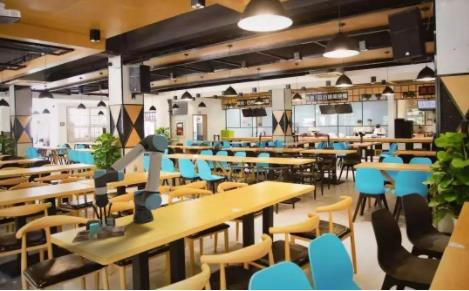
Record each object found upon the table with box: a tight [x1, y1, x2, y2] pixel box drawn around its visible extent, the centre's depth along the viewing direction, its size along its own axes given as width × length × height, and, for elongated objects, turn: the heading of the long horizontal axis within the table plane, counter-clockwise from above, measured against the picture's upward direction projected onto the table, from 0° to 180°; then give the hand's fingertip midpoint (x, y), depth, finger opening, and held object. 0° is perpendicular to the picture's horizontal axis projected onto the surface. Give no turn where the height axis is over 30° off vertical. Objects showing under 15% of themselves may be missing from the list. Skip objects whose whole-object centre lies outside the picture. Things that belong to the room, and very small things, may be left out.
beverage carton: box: [84, 217, 117, 231], centre depth 252 cm, size 8×19×7 cm, turn 102°
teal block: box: [90, 223, 99, 233], centre depth 233 cm, size 5×5×5 cm
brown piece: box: [75, 218, 126, 242], centre depth 234 cm, size 29×12×9 cm, turn 106°
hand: (104, 228), depth 235 cm, fingers closed
